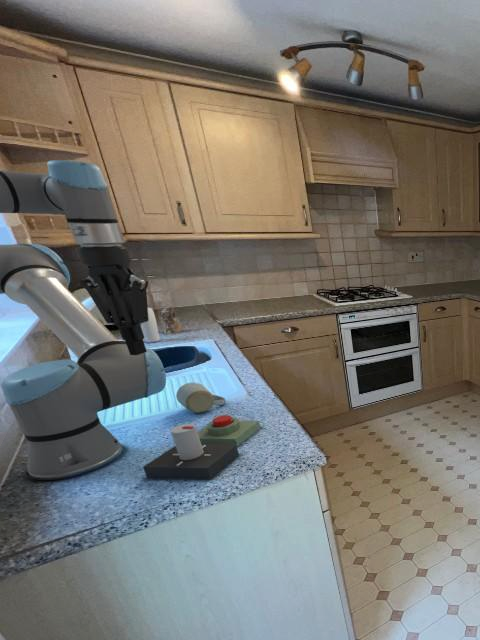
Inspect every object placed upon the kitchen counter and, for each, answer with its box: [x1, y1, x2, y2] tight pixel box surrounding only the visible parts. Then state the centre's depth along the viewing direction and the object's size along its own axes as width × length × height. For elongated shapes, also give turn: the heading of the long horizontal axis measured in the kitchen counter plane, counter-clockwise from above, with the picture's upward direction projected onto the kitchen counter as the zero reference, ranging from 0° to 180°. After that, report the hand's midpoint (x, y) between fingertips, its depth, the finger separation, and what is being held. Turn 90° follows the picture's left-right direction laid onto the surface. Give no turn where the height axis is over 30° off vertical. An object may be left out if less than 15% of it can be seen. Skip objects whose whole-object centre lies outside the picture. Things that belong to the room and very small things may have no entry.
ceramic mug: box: [176, 382, 226, 414], centre depth 121 cm, size 11×8×8 cm
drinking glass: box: [141, 307, 161, 344], centre depth 183 cm, size 7×7×15 cm
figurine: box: [160, 307, 183, 335], centre depth 200 cm, size 7×7×12 cm
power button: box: [212, 414, 232, 427], centre depth 105 cm, size 4×4×2 cm
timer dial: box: [170, 423, 204, 460], centre depth 91 cm, size 4×4×7 cm
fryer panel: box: [142, 444, 240, 480], centre depth 93 cm, size 14×10×3 cm
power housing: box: [197, 416, 261, 447], centre depth 106 cm, size 12×10×4 cm
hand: (138, 353), depth 93 cm, fingers closed
